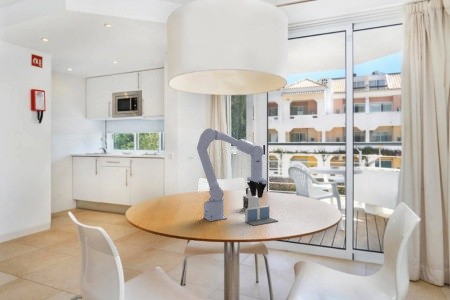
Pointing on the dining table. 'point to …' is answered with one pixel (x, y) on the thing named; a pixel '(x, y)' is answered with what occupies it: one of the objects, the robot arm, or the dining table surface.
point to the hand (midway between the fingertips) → (256, 196)
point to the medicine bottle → (250, 200)
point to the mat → (261, 221)
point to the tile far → (263, 212)
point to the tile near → (251, 214)
